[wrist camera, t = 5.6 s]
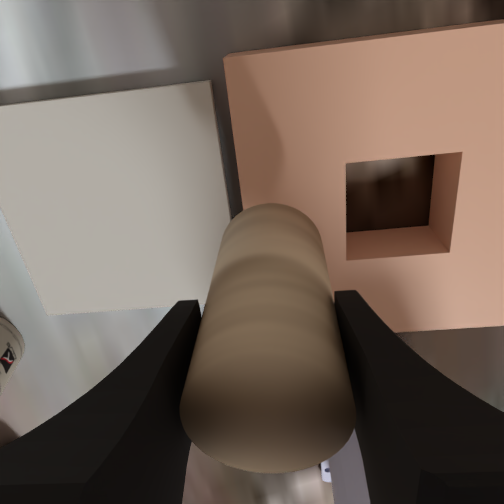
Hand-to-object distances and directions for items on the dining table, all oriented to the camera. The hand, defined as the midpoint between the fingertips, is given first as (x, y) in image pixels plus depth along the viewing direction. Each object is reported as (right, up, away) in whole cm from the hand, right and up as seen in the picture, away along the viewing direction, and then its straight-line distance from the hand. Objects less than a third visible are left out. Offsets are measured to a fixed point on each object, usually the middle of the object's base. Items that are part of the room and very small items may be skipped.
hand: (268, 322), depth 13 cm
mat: (-8, +4, +10) cm, 13 cm away
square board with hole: (+6, +5, +9) cm, 12 cm away
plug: (0, +2, +4) cm, 5 cm away
